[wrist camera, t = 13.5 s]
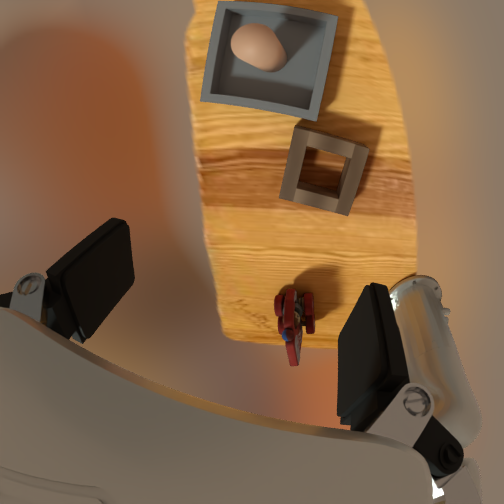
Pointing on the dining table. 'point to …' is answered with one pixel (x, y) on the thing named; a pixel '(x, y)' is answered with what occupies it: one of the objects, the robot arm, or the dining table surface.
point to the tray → (275, 83)
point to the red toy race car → (294, 321)
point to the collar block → (316, 194)
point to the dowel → (259, 47)
